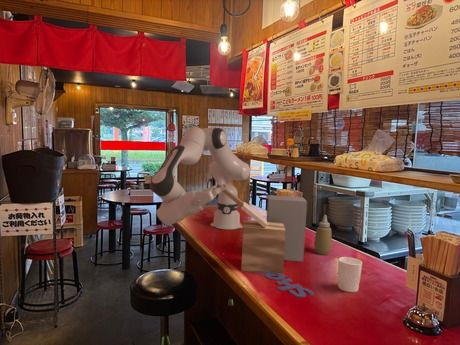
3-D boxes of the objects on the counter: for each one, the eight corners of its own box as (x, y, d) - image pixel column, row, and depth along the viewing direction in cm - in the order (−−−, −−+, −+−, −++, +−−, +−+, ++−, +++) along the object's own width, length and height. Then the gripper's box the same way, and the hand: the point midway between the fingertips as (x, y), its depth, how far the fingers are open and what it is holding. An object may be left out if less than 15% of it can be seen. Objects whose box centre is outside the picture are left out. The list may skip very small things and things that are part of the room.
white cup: (347, 294, 114) (349, 265, 113) (331, 285, 121) (333, 258, 120) (364, 291, 117) (367, 263, 116) (348, 282, 124) (350, 256, 123)
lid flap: (217, 184, 139) (219, 181, 139) (264, 222, 139) (266, 219, 139) (214, 187, 129) (217, 184, 129) (265, 228, 130) (267, 225, 129)
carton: (264, 250, 157) (267, 195, 155) (299, 252, 156) (303, 197, 154) (265, 258, 145) (269, 199, 143) (303, 261, 144) (307, 201, 142)
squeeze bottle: (319, 249, 163) (321, 212, 162) (334, 253, 158) (337, 215, 156) (310, 252, 158) (312, 214, 156) (325, 257, 152) (328, 217, 150)
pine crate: (242, 260, 142) (244, 220, 141) (280, 263, 141) (282, 223, 140) (241, 270, 130) (243, 227, 129) (282, 273, 129) (285, 230, 128)
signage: (316, 293, 112) (293, 298, 108) (316, 295, 112) (293, 300, 108) (268, 264, 137) (247, 267, 133) (268, 266, 137) (247, 269, 133)
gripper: (185, 198, 125) (218, 182, 124) (195, 191, 145) (223, 177, 144) (193, 213, 125) (226, 197, 124) (201, 204, 146) (230, 190, 144)
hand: (225, 186), depth 134 cm, fingers closed on lid flap, 4 cm apart
